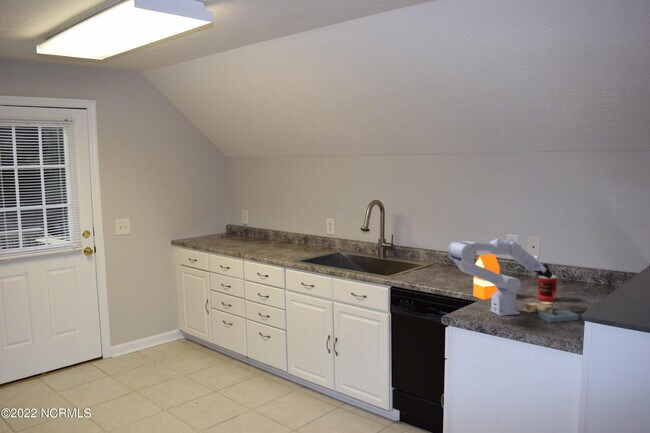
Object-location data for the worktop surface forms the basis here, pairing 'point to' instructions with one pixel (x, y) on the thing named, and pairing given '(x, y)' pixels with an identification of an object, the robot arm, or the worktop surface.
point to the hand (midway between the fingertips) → (544, 273)
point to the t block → (539, 307)
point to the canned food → (547, 288)
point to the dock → (561, 316)
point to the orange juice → (481, 286)
